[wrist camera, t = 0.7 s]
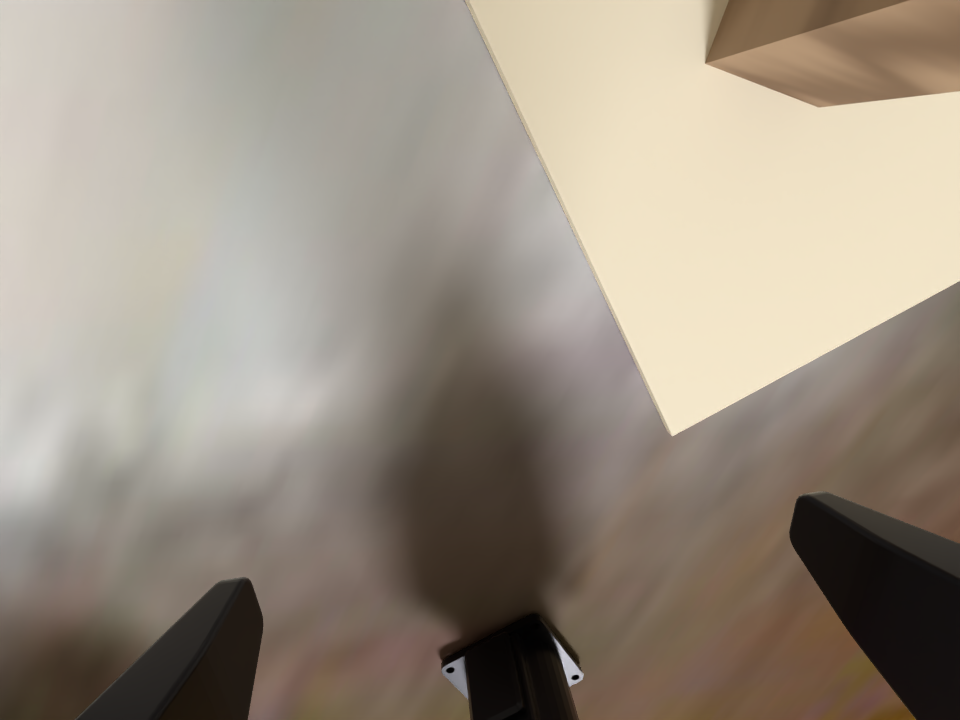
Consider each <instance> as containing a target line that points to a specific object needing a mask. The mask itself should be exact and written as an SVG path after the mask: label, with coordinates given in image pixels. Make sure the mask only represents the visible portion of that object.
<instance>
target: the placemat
mask: <svg viewBox="0 0 960 720" xmlns="http://www.w3.org/2000/svg"><path fill="white" fill-rule="evenodd" d="M728 1H729V0H465V2H466V4H467V6H468V8H469V10H470V12H471V15H472V17H473V19H474V21H475V23H476V25H477V27H478V30H479V32H480V34H481V36H482V38H483V40H484V42H485V44H486V47H487V49H488V51H489V53H490V55H491V57H492V59H493V61H494V64H495V66H496V68H497V70H498V72H499V74H500V76H501V78H502V81H503V83H504V85H505V87H506V89H507V91H508V93H509V96H510V98H511V100H512V102H513V104H514V106H515V108H516V110H517V113H518V115H519V117H520V119H521V121H522V123H523V125H524V127H525V130H526V132H527V134H528V136H529V138H530V140H531V142H532V145H533V147H534V149H535V151H536V153H537V155H538V157H539V159H540V162H541V164H542V166H543V168H544V170H545V172H546V174H547V176H548V179H549V181H550V183H551V185H552V187H553V189H554V191H555V194H556V196H557V198H558V200H559V202H560V204H561V206H562V208H563V211H564V213H565V215H566V217H567V219H568V221H569V223H570V225H571V228H572V230H573V232H574V234H575V236H576V238H577V240H578V243H579V245H580V247H581V249H582V251H583V253H584V255H585V257H586V260H587V262H588V264H589V266H590V268H591V270H592V272H593V274H594V277H595V279H596V281H597V283H598V285H599V287H600V289H601V292H602V294H603V296H604V298H605V300H606V302H607V304H608V306H609V309H610V311H611V313H612V315H613V317H614V319H615V321H616V323H617V326H618V328H619V330H620V332H621V334H622V336H623V338H624V341H625V343H626V345H627V347H628V349H629V351H630V353H631V355H632V358H633V360H634V362H635V364H636V366H637V368H638V370H639V372H640V375H641V377H642V379H643V381H644V383H645V385H646V387H647V390H648V392H649V394H650V396H651V398H652V400H653V402H654V404H655V407H656V409H657V411H658V413H659V415H660V417H661V419H662V421H663V424H664V426H665V428H666V430H667V431H668V432H669V433H670V434H671V435H672V436H674V435H676V434H677V433H679V432H681V431H683V430H685V429H687V428H688V427H690V426H692V425H694V424H696V423H698V422H700V421H701V420H703V419H705V418H707V417H709V416H711V415H713V414H714V413H716V412H718V411H720V410H722V409H724V408H725V407H727V406H729V405H731V404H733V403H735V402H737V401H738V400H740V399H742V398H744V397H746V396H748V395H750V394H751V393H753V392H755V391H757V390H759V389H761V388H762V387H764V386H766V385H768V384H770V383H772V382H774V381H775V380H777V379H779V378H781V377H783V376H785V375H786V374H788V373H790V372H792V371H794V370H796V369H798V368H799V367H801V366H803V365H805V364H807V363H809V362H811V361H812V360H814V359H816V358H818V357H820V356H822V355H823V354H825V353H827V352H829V351H831V350H833V349H835V348H836V347H838V346H840V345H842V344H844V343H846V342H848V341H849V340H851V339H853V338H855V337H857V336H859V335H860V334H862V333H864V332H866V331H868V330H870V329H872V328H873V327H875V326H877V325H879V324H881V323H883V322H885V321H886V320H888V319H890V318H892V317H894V316H896V315H897V314H899V313H901V312H903V311H905V310H907V309H909V308H910V307H912V306H914V305H916V304H918V303H920V302H921V301H923V300H925V299H927V298H929V297H931V296H933V295H934V294H936V293H938V292H940V291H942V290H944V289H946V288H947V287H949V286H951V285H953V284H955V283H957V282H958V281H960V91H958V92H949V93H941V94H932V95H923V96H915V97H906V98H897V99H889V100H880V101H871V102H863V103H854V104H846V105H837V106H828V107H820V108H819V107H816V106H813V105H811V104H808V103H806V102H803V101H800V100H798V99H795V98H793V97H790V96H787V95H785V94H782V93H780V92H777V91H774V90H772V89H769V88H767V87H764V86H761V85H759V84H756V83H754V82H751V81H748V80H746V79H743V78H741V77H738V76H735V75H733V74H730V73H728V72H725V71H722V70H720V69H717V68H715V67H712V66H709V65H707V64H705V62H706V59H707V57H708V54H709V51H710V49H711V46H712V43H713V41H714V38H715V36H716V33H717V30H718V28H719V25H720V22H721V20H722V17H723V14H724V12H725V9H726V7H727V4H728Z"/></svg>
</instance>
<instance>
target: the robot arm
mask: <svg viewBox="0 0 960 720" xmlns="http://www.w3.org/2000/svg"><path fill="white" fill-rule="evenodd" d="M789 535H790V540H791V543H792V545H793V547H794V549H795V551H796V552H797V554H798V555H799V557H800V558H801V560H802V561H803V563H804V564H805V566H806V568H807V569H808V571H809V572H810V574H811V575H812V577H813V578H814V580H815V581H816V583H817V584H818V586H819V588H820V589H821V591H822V592H823V594H824V595H825V597H826V598H827V600H828V601H829V603H830V604H831V606H832V607H833V609H834V611H835V612H836V614H837V615H838V617H839V618H840V620H841V621H842V623H843V624H844V626H845V627H846V629H847V630H848V631H849V633H850V634H851V636H852V637H853V638H854V640H855V641H856V642H857V644H858V645H859V646H860V648H861V649H862V650H863V652H864V653H865V654H866V656H867V657H868V658H869V659H870V661H871V662H872V663H873V665H874V666H875V667H876V669H877V670H878V671H879V672H880V674H881V675H882V676H883V678H884V679H885V680H886V681H887V683H888V684H889V685H890V687H891V688H892V689H893V690H894V692H895V693H896V694H897V696H898V697H899V698H900V699H901V701H902V702H903V703H904V705H905V706H906V707H907V708H908V710H909V711H910V712H911V714H912V715H913V716H914V717H915V719H916V720H960V544H959V543H956V542H954V541H951V540H949V539H946V538H944V537H941V536H938V535H936V534H933V533H931V532H928V531H926V530H923V529H921V528H918V527H915V526H913V525H910V524H908V523H905V522H903V521H900V520H898V519H895V518H892V517H890V516H887V515H885V514H882V513H880V512H877V511H875V510H872V509H870V508H867V507H864V506H862V505H859V504H857V503H854V502H852V501H849V500H847V499H844V498H841V497H839V496H836V495H834V494H831V493H828V492H814V493H807V494H802V495H800V496H799V497H798V499H797V500H796V504H795V508H794V513H793V517H792V522H791V526H790V531H789ZM262 633H263V616H262V612H261V609H260V606H259V603H258V600H257V597H256V594H255V591H254V588H253V585H252V583H251V581H250V580H249V579H248V578H246V577H241V578H234V579H227V580H222V581H220V582H218V583H217V584H215V585H214V586H213V587H212V588H211V589H210V590H209V591H208V592H207V593H206V594H205V595H204V596H203V597H202V598H201V599H200V600H199V601H197V602H196V603H195V604H194V605H193V606H192V607H191V608H190V609H189V610H188V611H187V612H186V613H185V614H184V615H183V616H182V617H181V618H180V619H179V620H178V621H177V622H176V623H175V624H174V625H173V626H172V627H170V628H169V629H168V630H167V631H166V632H165V633H164V634H163V635H162V636H161V637H160V638H159V639H158V640H157V641H156V642H155V643H154V644H153V645H152V646H151V647H150V648H149V649H148V650H147V651H146V652H145V653H143V654H142V655H141V656H140V657H139V658H138V659H137V660H136V661H135V662H134V663H133V664H132V665H131V666H130V667H129V668H128V669H127V670H126V671H125V672H124V673H123V674H122V675H121V676H120V677H119V678H118V679H116V680H115V681H114V682H113V683H112V684H111V685H110V686H109V687H108V688H107V689H106V690H105V691H104V692H103V693H102V694H101V695H100V696H99V697H98V698H97V699H96V700H95V701H94V702H93V703H92V704H90V705H89V706H88V707H87V708H86V709H85V710H84V711H83V712H82V713H81V714H80V715H79V716H78V717H77V718H76V719H75V720H248V715H249V709H250V703H251V697H252V691H253V685H254V680H255V674H256V668H257V662H258V656H259V651H260V645H261V639H262ZM441 668H442V673H443V675H444V676H445V677H446V678H447V679H448V680H449V681H450V682H451V683H452V684H453V685H454V686H455V687H456V688H457V689H458V690H459V691H460V692H461V693H462V694H463V695H464V696H465V697H466V698H467V699H468V700H469V709H470V719H471V720H579V718H578V715H577V711H576V708H575V705H574V701H573V698H572V695H571V691H570V688H569V686H571V685H573V684H575V683H577V682H579V681H581V680H582V679H583V673H582V670H581V667H580V666H579V665H578V663H577V662H576V661H575V660H574V658H573V657H572V656H571V654H570V653H569V652H568V651H567V649H566V648H565V647H564V645H563V644H562V643H561V642H560V640H559V639H558V638H557V636H556V635H555V634H554V633H553V631H552V630H551V629H550V627H549V626H548V625H547V624H546V622H545V621H544V620H543V618H542V617H541V616H540V615H538V614H532V615H529V616H527V617H525V618H523V619H521V620H519V621H517V622H515V623H514V624H512V625H510V626H508V627H506V628H504V629H502V630H500V631H498V632H496V633H494V634H492V635H490V636H488V637H487V638H485V639H483V640H481V641H479V642H477V643H475V644H473V645H471V646H469V647H467V648H465V649H463V650H462V651H460V652H458V653H456V654H454V655H452V656H450V657H448V658H446V659H445V660H443V661H442V663H441Z"/></svg>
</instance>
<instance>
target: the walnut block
mask: <svg viewBox="0 0 960 720" xmlns="http://www.w3.org/2000/svg"><path fill="white" fill-rule="evenodd" d="M705 64H707V65H709V66H712V67H715V68H717V69H720V70H722V71H725V72H728V73H730V74H733V75H735V76H738V77H741V78H743V79H746V80H748V81H751V82H754V83H756V84H759V85H761V86H764V87H767V88H769V89H772V90H774V91H777V92H780V93H782V94H785V95H787V96H790V97H793V98H795V99H798V100H800V101H803V102H806V103H808V104H811V105H813V106H816V107H819V108H820V107H828V106H837V105H846V104H854V103H863V102H871V101H880V100H889V99H897V98H906V97H915V96H923V95H932V94H941V93H949V92H958V91H960V0H729V1H728V4H727V7H726V9H725V12H724V14H723V17H722V20H721V22H720V25H719V28H718V30H717V33H716V36H715V38H714V41H713V43H712V46H711V49H710V51H709V54H708V57H707V59H706V62H705Z"/></svg>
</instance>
